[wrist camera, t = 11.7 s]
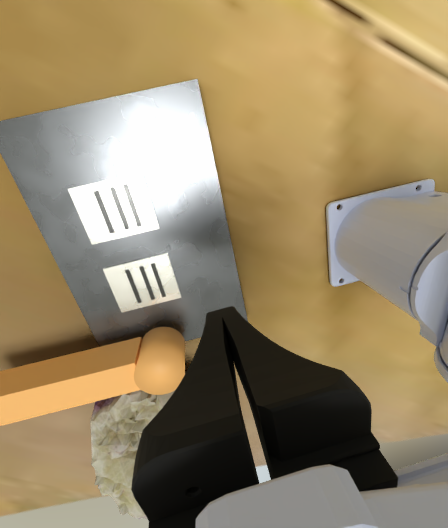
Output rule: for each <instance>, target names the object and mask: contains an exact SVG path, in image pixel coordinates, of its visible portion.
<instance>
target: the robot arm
mask: <svg viewBox="0 0 448 528" xmlns="http://www.w3.org/2000/svg"><path fill="white" fill-rule="evenodd" d="M417 186H418V188H417V190H416V187H417ZM434 188H435V181H434V180H433V179H425V180H421V181H417V182H412V183H408V184H404V185H400V186H396V187H392V188H388V189H383V190H379V191H375V192H371V193H367V194H363V195H359V196H354V197H350V198H346V199H342V200H338V201H334V202H330V203H329V204H328V205H327V207H326V218H327V238H328V258H329V278H330V284H331V285H332V286H334V287H336V286H340V285H344V284H348V283H352V282H356V281H362V282H363V283H365V284H366V285H367V286H369V287H370V288H372V289H373V290H375V291H376V292H377V293H379V294H380V295H382V296H383V297H385V298H386V299H387V300H389V301H390V302H392V303H393V304H395V305H396V306H397V307H399V308H400V309H402V310H403V311H405V312H406V313H407V314H409V315H410V316H412V317H413V318H415V319H416V320H417V321H419V323H420V335H422V336H423V337H424V338H426V339H427V340H428V341H430V342H431V343H432V344H434V345H435V346H436V349H435V352H434V361H435V365H436V367H437V369H438V371H439V373H440V374H441V375H442V376H443V378H444V379H445V380H446V381H447V382H448V193H444V192H437V191H434ZM339 204H340V208H339V209H337V206H338V205H339ZM341 278H342V280H341V281H339V280H340V279H341ZM233 361H234V362H233ZM234 364H235V367H236V369H237V372H238V375H239V377H240V380H241V383H242V385H243V388H244V390H245V393H246V396H247V398H248V401H249V404H250V407H251V410H252V413H253V417H254V420H255V424H256V427H257V431H258V434H259V438H260V442H261V445H262V449H263V452H264V456H265V459H266V463H267V467H268V470H269V474H270V477H271V480H269V481H266V482H263V483H260V484H259V480H258V476H257V472H256V468H255V464H254V460H253V456H252V452H251V448H250V444H249V440H248V436H247V432H246V428H245V424H244V420H243V416H242V411H241V406H240V401H239V394H238V388H237V381H236V375H235V369H234ZM371 411H372V410H371V404H370V402H369V400H368V399H367V397H366V396H365V394H364V393H363V392H362V391H361V389H360V388H359V387H358V386H357V385H356V384H355V383H354V382H353V381H352V380H351V379H350V378H349V377H348V376H347V375H346V374H345V373H344V372H343V371H342V370H338V369H335V368H332V367H328V366H325V365H322V364H318V363H316V362H313V361H310V360H308V359H305V358H303V357H301V356H298V355H296V354H294V353H292V352H290V351H288V350H286V349H284V348H283V347H281V346H279V345H278V344H276V343H274V342H273V341H271V340H270V339H268V338H267V337H266V336H264V335H263V334H262V333H260V332H259V331H258V330H257V329H255V328H254V327H253V326H252V325H251V324H250V323H249V322H247V321H246V320H245V319H244V318H243V317H242V316H241V314H240V313H239V312H238V311H237V310H236V308H235V307H233V306H230V307H226V308H222V309H219V310H215V311H211V312H208V313H207V314H206V320H205V325H204V330H203V333H202V336H201V340H200V343H199V345H198V348H197V351H196V353H195V356H194V358H193V360H192V362H191V364H190V366H189V368H188V370H187V372H186V374H185V376H184V377H183V379H182V381H181V382H180V384H179V386H178V387H177V389H176V390H175V392H174V393H173V394H172V396H171V397H170V398H169V400H168V401H167V403H166V404H165V405H164V407H163V408H162V409H161V410H160V411H159V412H158V414H157V415H156V416H155V417H154V418H153V419H152V420H151V421H150V423H149V424H148V425H147V426H146V427H145V428H144V429H143V431H142V434H141V438H140V441H139V445H138V449H137V453H136V457H135V463H134V471H133V478H132V488H131V490H132V493H133V496H134V498H135V500H136V501H137V503H138V504H139V506H140V507H141V509H142V511H143V512H144V514H145V515H146V517H147V518H148V520H149V528H448V453H446V454H443V455H440V456H437V457H434V458H431V459H428V460H425V461H421V462H418V463H415V464H412V465H409V466H406V467H403V468H400V469H397V470H394V471H393V469H392V468H391V466H390V465H389V464H388V462H387V461H386V459H385V458H384V456H383V455H382V453H381V452H380V450H379V448H380V445H379V443H378V441H377V440H376V438H375V437H374V435H373V434H372V433H371Z"/></svg>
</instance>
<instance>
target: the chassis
mask: <svg viewBox="0 0 448 528" xmlns="http://www.w3.org/2000/svg"><path fill="white" fill-rule="evenodd" d="M0 153H1V155H2V157H3V159H4V161H5V163H6V165H7V167H8V169H9V171H10V172H11V174H12V176H13V178H14V180H15V182H16V184H17V186H18V188H19V190H20V192H21V194H22V196H23V198H24V200H25V202H26V204H27V206H28V208H29V210H30V212H31V214H32V216H33V218H34V219H35V221H36V223H37V225H38V227H39V229H40V231H41V233H42V235H43V237H44V239H45V241H46V243H47V245H48V247H49V249H50V251H51V253H52V255H53V257H54V259H55V261H56V263H57V265H58V267H59V268H60V270H61V272H62V274H63V276H64V278H65V280H66V282H67V284H68V286H69V288H70V290H71V292H72V294H73V296H74V298H75V300H76V302H77V304H78V306H79V308H80V310H81V312H82V314H83V316H84V317H85V319H86V321H87V323H88V325H89V327H90V329H91V331H92V333H93V335H94V337H95V339H96V341H97V343H98V345H99V347H101V346H105V345H109V344H113V343H117V342H121V341H125V340H130V339H134V338H138V337H141V338H142V339H143V337H144V336H145V334H146V333H147V332H149V331H150V330H152V329H154V328H157V327H170V328H173V329H176V330H177V331H179V332H180V333H181V334H182V336H183V337H184V340H185V341H188V340H192V339H196V338H200V337H201V336H202V333H203V330H204V325H205V320H206V314H207V313H208V312H211V311H215V310H219V309H222V308H226V307H230V306H233V307H235V308H236V310H237V311H238V312H239V313H240V314H241V316H242V317H243V318H244V319H245V320H246V321H247V322H248V320H247V315H246V311H245V306H244V301H243V296H242V291H241V287H240V282H239V277H238V272H237V267H236V262H235V258H234V253H233V248H232V243H231V238H230V233H229V229H228V224H227V219H226V214H225V209H224V205H223V200H222V195H221V190H220V185H219V180H218V176H217V171H216V166H215V161H214V156H213V151H212V147H211V142H210V137H209V132H208V127H207V123H206V118H205V113H204V108H203V103H202V98H201V94H200V89H199V84H198V79H195V80H190V81H185V82H181V83H176V84H171V85H167V86H162V87H157V88H153V89H148V90H143V91H139V92H134V93H129V94H125V95H120V96H115V97H110V98H106V99H101V100H96V101H92V102H87V103H82V104H78V105H73V106H68V107H64V108H59V109H54V110H50V111H45V112H40V113H36V114H31V115H26V116H22V117H17V118H12V119H8V120H3V121H0Z"/></svg>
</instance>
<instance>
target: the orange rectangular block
mask: <svg viewBox="0 0 448 528" xmlns="http://www.w3.org/2000/svg"><path fill="white" fill-rule="evenodd" d="M184 376H185V340H184V337H183V336H182V334H181V333H180V332H179V331H177V330H176V329H173V328H170V327H157V328H154V329H152V330H150V331H149V332H147V333H146V334H145V336H144V337H143V339H142V338H141V337H138V338H134V339H130V340H125V341H121V342H117V343H113V344H109V345H105V346H101V347H97V348H93V349H89V350H85V351H81V352H76V353H72V354H68V355H64V356H60V357H56V358H52V359H48V360H44V361H40V362H36V363H32V364H27V365H23V366H19V367H15V368H11V369H7V370H3V371H0V426H2V425H6V424H10V423H13V422H17V421H21V420H25V419H29V418H33V417H37V416H41V415H45V414H49V413H53V412H57V411H60V410H64V409H68V408H72V407H76V406H80V405H84V404H88V403H92V402H96V401H100V400H104V399H107V398H111V397H115V396H119V395H123V394H127V393H131V392H135V391H139V390H142V391H144V392H146V393H149V394H153V395H164V394H168V393H171V392H173V391H175V390H176V389H177V387H178V386H179V384H180V382H181V381H182V379H183V377H184Z"/></svg>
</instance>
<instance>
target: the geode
mask: <svg viewBox="0 0 448 528" xmlns="http://www.w3.org/2000/svg"><path fill="white" fill-rule="evenodd" d="M174 392H175V391H173V392H171V393H168V394H164V395H153V394H149V393H146V392H144V391H142V390H139V391H135V392H131V393H127V394H123V395H119V396H115V397H111V398H107V399H104V400H100V401H96V402H95V406H94V410H93V414H92V418H91V443H92V463H91V465H92V466H93V467H94V468H95V474H96V480H95V485H98V484H99V485H98V488H99V489H100V492H101V495H102V496H104V495H109V496H110V497H112V498H113V499H114V500H115V502H116V503H117V505H118V507H119V511H120V514H122V515H124V514H126V513H127V512H128V514H129V515H131V516H132V517H134V518H137V519H140V518H145V519H148V518H147V517H146V515H145V514H144V512H143V511H142V509H141V507H140V506H139V504H138V503H137V501H136V500H135V498H134V496H133V493H132V490H131V488H132V478H133V471H134V463H135V457H136V453H137V449H138V445H139V441H140V438H141V434H142V431H143V429H144V428H145V427H146V426H147V425H148V424H149V423H150V421H151V420H152V419H153V418H154V417H155V416H156V415H157V414H158V412H159V411H160V410H161V409H162V408H163V407H164V405H165V404H166V403H167V401H168V400H169V398H170V397H171V396H172V394H173V393H174Z"/></svg>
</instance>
